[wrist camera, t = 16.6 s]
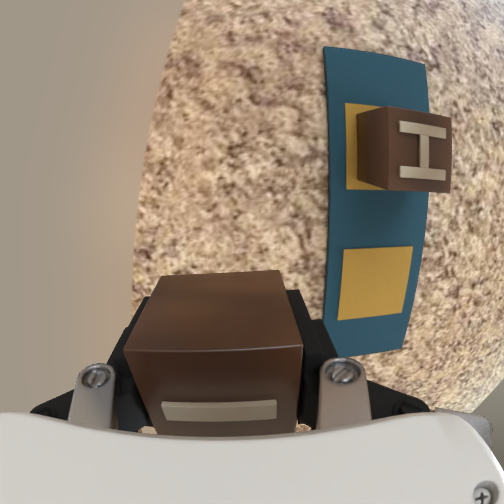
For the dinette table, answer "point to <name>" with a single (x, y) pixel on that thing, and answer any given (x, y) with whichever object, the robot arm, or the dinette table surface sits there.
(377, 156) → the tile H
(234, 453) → the robot arm
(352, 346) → the word mat
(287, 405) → the tile
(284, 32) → the dinette table surface
